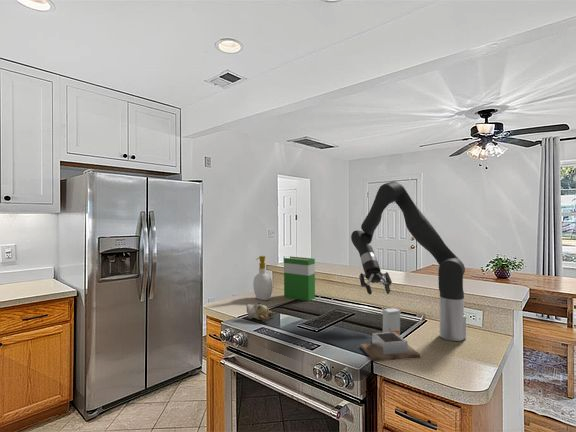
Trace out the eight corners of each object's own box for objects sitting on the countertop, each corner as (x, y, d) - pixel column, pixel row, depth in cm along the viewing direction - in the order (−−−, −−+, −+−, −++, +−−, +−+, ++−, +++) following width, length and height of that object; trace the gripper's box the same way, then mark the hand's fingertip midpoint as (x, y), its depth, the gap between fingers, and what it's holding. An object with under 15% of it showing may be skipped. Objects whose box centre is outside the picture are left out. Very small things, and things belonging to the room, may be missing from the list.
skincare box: (387, 340, 144) (387, 312, 144) (382, 336, 148) (382, 309, 148) (400, 339, 146) (400, 310, 145) (394, 335, 150) (394, 307, 150)
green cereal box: (284, 296, 215) (283, 258, 214) (291, 294, 221) (290, 256, 220) (308, 301, 205) (308, 260, 204) (315, 298, 211) (314, 258, 210)
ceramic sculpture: (251, 297, 180) (278, 301, 176) (250, 314, 181) (277, 318, 176) (242, 303, 170) (270, 308, 166) (241, 321, 171) (270, 325, 166)
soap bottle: (248, 298, 212) (248, 255, 211) (259, 295, 218) (259, 254, 217) (265, 302, 202) (264, 258, 201) (276, 299, 208) (275, 256, 207)
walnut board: (403, 343, 141) (403, 340, 141) (420, 357, 128) (420, 354, 128) (360, 346, 138) (360, 344, 138) (373, 361, 125) (373, 358, 125)
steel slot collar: (394, 342, 139) (394, 331, 139) (407, 353, 129) (407, 341, 129) (372, 344, 138) (372, 333, 137) (383, 355, 127) (383, 343, 127)
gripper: (357, 259, 165) (367, 289, 154) (386, 258, 167) (397, 288, 156) (354, 268, 171) (362, 298, 160) (381, 267, 173) (391, 296, 162)
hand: (379, 293), depth 158 cm, fingers open, 8 cm apart
